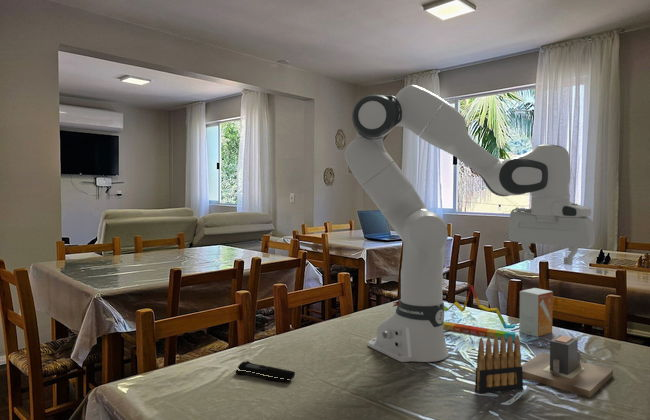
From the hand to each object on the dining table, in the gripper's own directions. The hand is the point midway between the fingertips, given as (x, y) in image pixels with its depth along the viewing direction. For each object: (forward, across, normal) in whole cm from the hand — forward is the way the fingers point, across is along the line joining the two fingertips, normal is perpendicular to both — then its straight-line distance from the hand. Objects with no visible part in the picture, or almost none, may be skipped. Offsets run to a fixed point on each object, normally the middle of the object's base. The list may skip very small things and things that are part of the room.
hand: (548, 262), depth 114 cm
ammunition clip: (+26, +1, -25) cm, 36 cm away
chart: (+26, -28, +5) cm, 38 cm away
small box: (+26, -12, +21) cm, 35 cm away
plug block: (+24, +7, -7) cm, 26 cm away
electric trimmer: (+27, -40, -60) cm, 77 cm away
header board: (+26, +7, -7) cm, 27 cm away
